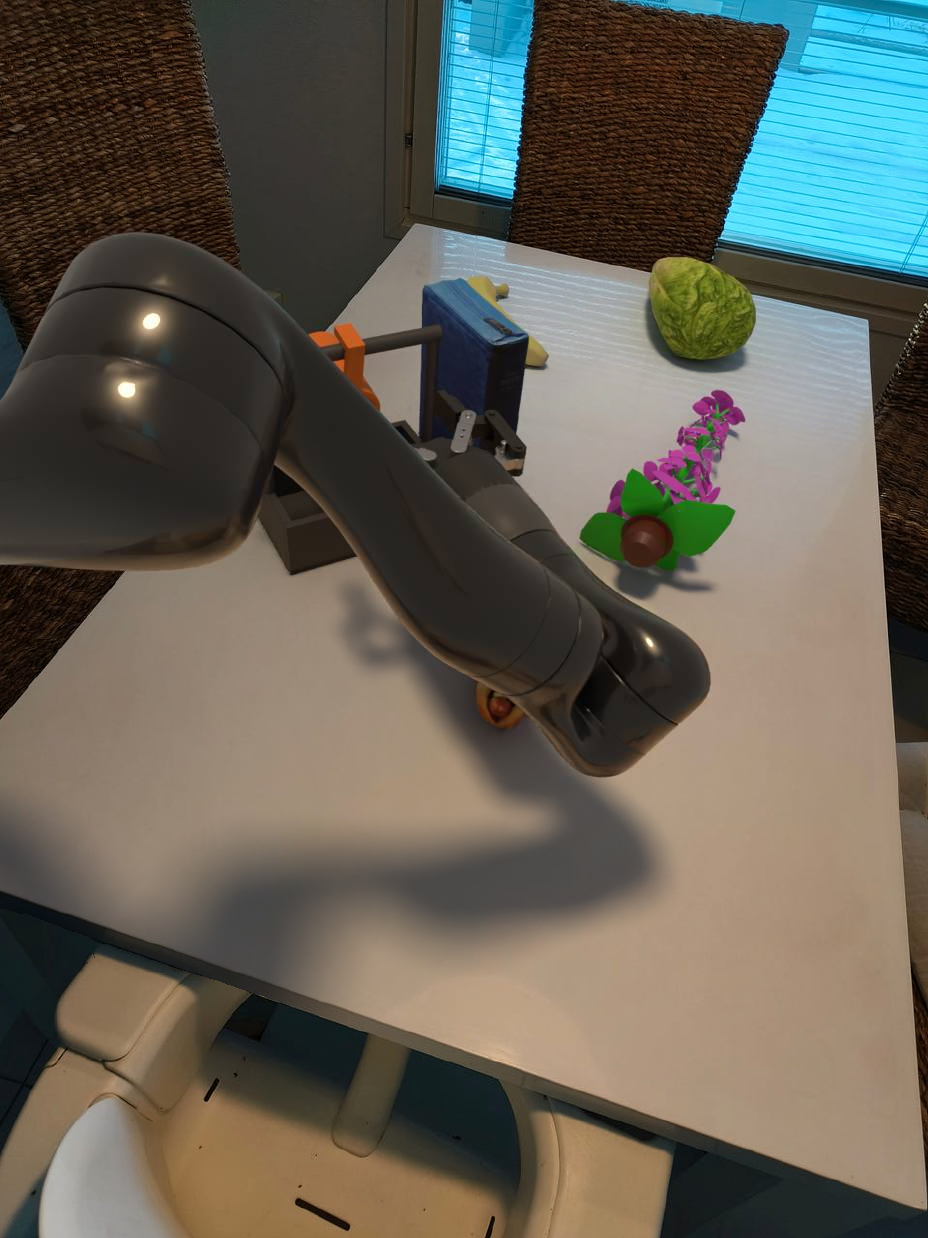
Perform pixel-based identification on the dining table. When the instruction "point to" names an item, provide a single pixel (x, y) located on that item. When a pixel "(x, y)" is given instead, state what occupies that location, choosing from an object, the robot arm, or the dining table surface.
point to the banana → (489, 292)
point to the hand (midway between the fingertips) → (391, 410)
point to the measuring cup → (349, 356)
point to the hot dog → (497, 708)
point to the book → (474, 354)
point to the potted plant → (668, 499)
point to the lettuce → (700, 308)
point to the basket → (294, 513)
